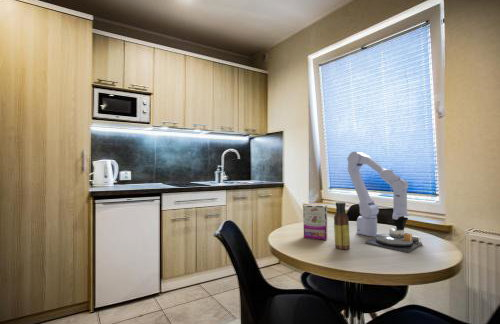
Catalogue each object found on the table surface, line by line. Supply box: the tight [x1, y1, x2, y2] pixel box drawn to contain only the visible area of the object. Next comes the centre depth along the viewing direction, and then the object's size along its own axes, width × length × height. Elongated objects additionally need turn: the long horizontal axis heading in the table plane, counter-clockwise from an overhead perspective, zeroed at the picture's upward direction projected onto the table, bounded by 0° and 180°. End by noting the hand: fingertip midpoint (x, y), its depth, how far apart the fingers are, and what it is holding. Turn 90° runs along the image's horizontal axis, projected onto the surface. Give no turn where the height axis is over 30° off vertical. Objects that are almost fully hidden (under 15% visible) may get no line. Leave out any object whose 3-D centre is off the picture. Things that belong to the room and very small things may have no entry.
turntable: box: [375, 232, 413, 246], centre depth 123 cm, size 15×15×5 cm
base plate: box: [365, 234, 423, 254], centre depth 123 cm, size 18×18×3 cm
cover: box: [389, 227, 405, 238], centre depth 126 cm, size 6×6×3 cm
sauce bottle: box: [333, 201, 351, 250], centre depth 117 cm, size 6×6×20 cm
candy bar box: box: [302, 204, 328, 241], centre depth 133 cm, size 11×5×16 cm, turn 68°
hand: (400, 232), depth 129 cm, fingers closed
